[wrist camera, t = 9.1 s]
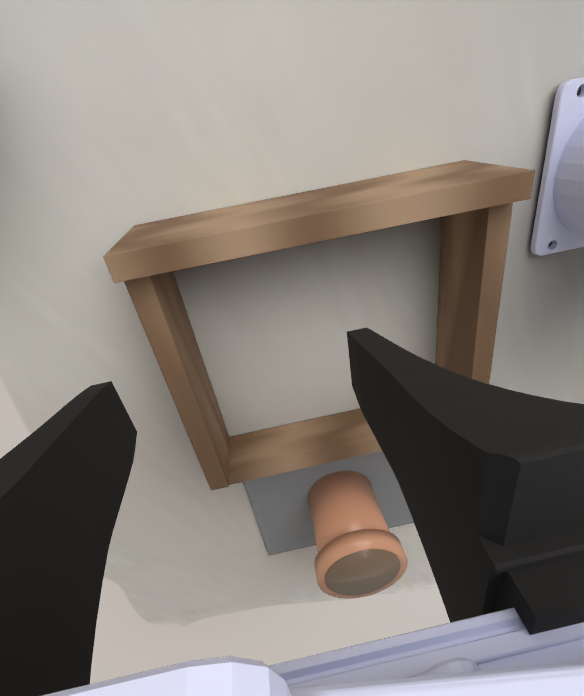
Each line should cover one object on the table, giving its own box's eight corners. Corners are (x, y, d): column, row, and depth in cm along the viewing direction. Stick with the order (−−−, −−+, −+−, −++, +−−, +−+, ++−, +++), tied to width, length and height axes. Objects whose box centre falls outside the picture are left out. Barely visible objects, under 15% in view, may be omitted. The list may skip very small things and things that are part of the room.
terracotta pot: (357, 454, 27) (386, 532, 22) (388, 497, 30) (420, 574, 25) (288, 490, 28) (300, 573, 23) (324, 528, 31) (343, 609, 26)
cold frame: (464, 160, 18) (534, 170, 14) (448, 400, 26) (490, 454, 22) (134, 225, 18) (102, 256, 13) (218, 451, 25) (215, 516, 21)
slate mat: (433, 430, 27) (434, 432, 27) (429, 516, 32) (430, 518, 32) (241, 472, 27) (241, 475, 27) (268, 553, 32) (268, 555, 32)
